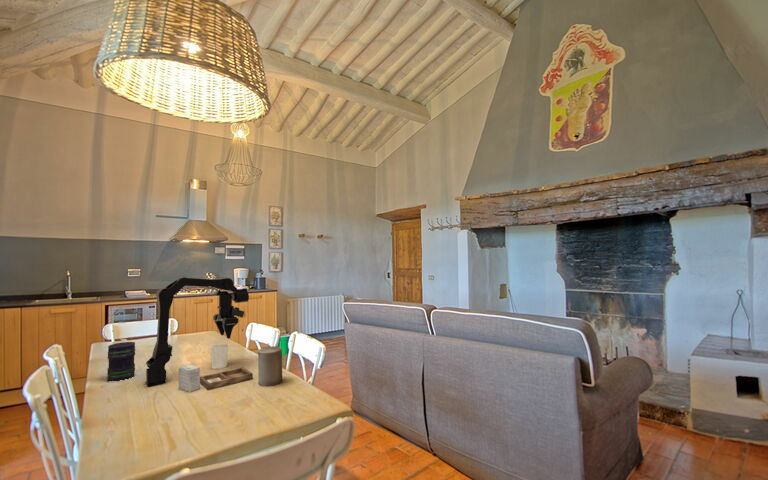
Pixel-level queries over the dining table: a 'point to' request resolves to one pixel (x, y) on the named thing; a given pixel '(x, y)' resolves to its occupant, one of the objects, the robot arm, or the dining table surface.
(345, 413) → the dining table surface
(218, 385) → the tray
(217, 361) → the white cup
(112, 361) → the storage jar
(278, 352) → the pillar candle
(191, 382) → the medicine box
